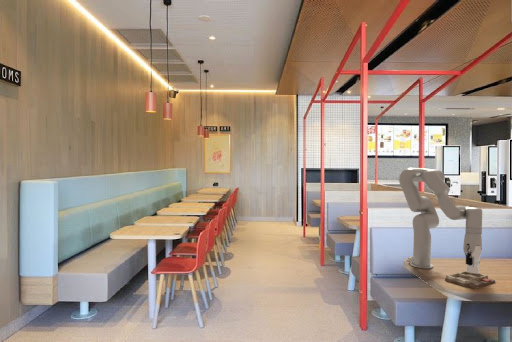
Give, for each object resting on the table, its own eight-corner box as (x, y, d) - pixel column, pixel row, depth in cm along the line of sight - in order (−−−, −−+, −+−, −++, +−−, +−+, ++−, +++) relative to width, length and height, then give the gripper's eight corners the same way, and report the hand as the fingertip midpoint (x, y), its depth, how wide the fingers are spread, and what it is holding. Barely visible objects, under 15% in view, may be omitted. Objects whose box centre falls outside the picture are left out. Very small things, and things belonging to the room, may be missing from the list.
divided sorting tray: (444, 280, 193) (444, 275, 192) (466, 274, 203) (466, 269, 203) (473, 288, 180) (474, 283, 180) (495, 282, 190) (495, 277, 190)
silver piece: (483, 274, 192) (484, 245, 192) (470, 274, 191) (471, 245, 191) (474, 270, 199) (475, 243, 199) (462, 270, 198) (463, 243, 198)
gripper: (475, 228, 202) (474, 260, 203) (457, 230, 193) (456, 264, 194) (489, 230, 196) (488, 263, 196) (471, 233, 187) (471, 267, 187)
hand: (472, 263), depth 195 cm, fingers closed on silver piece, 6 cm apart
